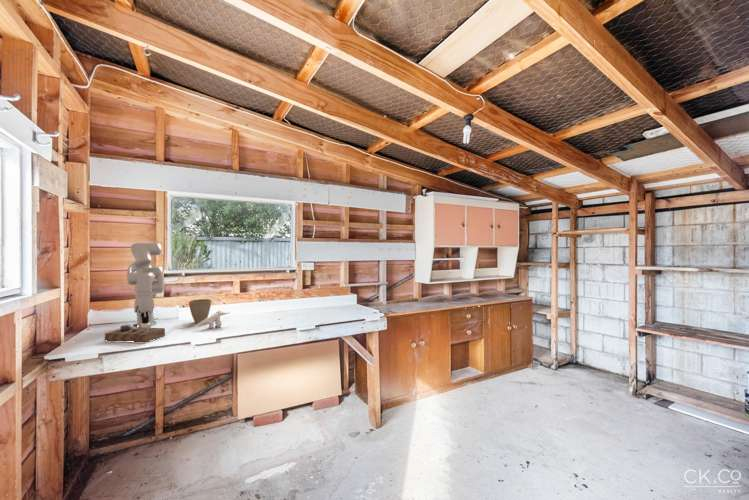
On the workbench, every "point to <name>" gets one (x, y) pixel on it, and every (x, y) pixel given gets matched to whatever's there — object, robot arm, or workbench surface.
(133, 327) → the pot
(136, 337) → the mount
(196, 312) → the plant pot
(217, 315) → the white dinosaur figurine
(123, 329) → the black knob
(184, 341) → the workbench surface
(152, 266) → the robot arm
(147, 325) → the ivory knob
